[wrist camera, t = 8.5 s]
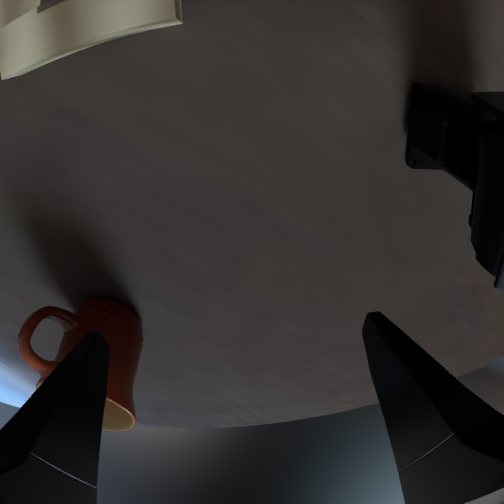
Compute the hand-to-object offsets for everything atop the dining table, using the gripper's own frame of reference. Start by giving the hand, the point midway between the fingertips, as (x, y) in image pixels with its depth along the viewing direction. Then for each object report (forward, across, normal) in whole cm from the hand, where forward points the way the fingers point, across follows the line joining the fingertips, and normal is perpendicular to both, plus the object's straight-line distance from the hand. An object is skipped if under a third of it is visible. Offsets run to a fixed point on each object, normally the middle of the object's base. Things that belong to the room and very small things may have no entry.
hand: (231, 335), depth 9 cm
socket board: (+13, +8, -17) cm, 23 cm away
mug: (+13, +14, +11) cm, 22 cm away
